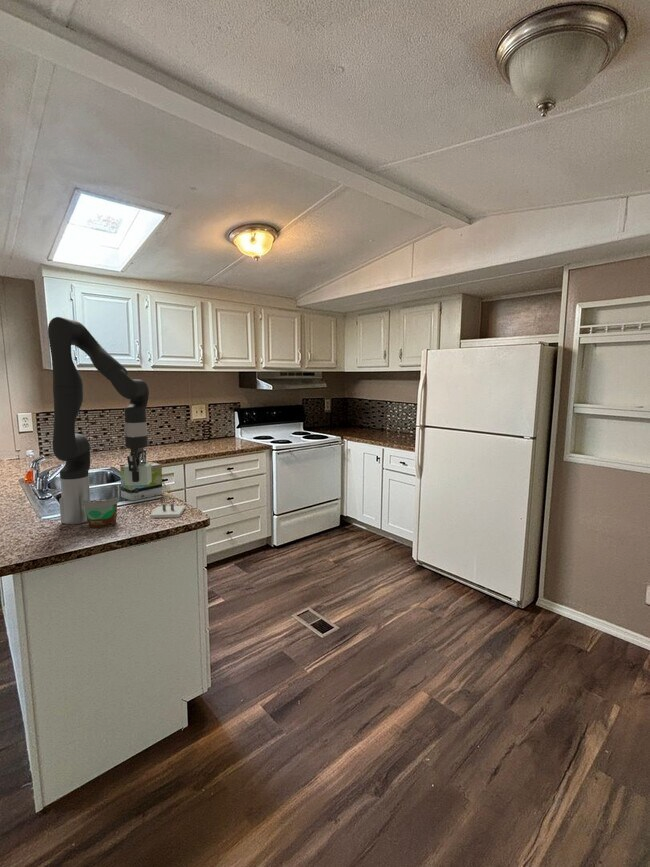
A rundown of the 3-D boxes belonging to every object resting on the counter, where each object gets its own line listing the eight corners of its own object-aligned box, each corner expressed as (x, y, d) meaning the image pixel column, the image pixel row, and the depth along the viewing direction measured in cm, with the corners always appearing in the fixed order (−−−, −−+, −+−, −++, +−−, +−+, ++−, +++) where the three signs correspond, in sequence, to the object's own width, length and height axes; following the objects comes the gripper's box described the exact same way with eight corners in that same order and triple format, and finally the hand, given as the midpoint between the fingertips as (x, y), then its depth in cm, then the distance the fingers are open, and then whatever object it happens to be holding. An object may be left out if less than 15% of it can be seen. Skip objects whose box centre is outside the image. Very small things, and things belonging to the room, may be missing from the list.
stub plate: (150, 517, 161) (149, 508, 160) (158, 509, 172) (157, 500, 171) (179, 517, 162) (178, 508, 162) (185, 508, 173) (185, 499, 172)
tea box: (132, 501, 181) (130, 469, 179) (121, 497, 187) (119, 466, 185) (163, 494, 193) (162, 463, 191) (151, 490, 199) (150, 460, 197)
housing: (124, 485, 149) (123, 466, 148) (129, 481, 154) (128, 463, 153) (147, 484, 150) (147, 466, 149) (151, 481, 155) (151, 463, 154)
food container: (79, 530, 147) (77, 503, 146) (84, 524, 153) (82, 498, 152) (116, 527, 150) (115, 501, 149) (120, 521, 156) (118, 496, 155)
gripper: (132, 431, 156) (134, 475, 159) (118, 437, 142) (120, 485, 144) (152, 431, 157) (154, 475, 159) (140, 437, 143) (142, 484, 145)
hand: (138, 479), depth 152 cm, fingers closed on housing, 5 cm apart
